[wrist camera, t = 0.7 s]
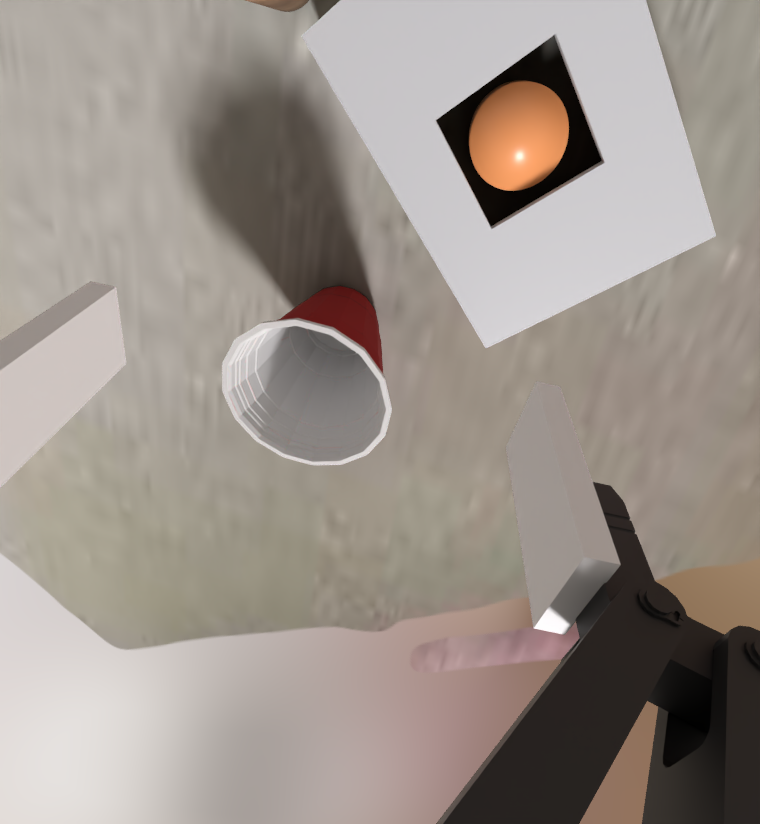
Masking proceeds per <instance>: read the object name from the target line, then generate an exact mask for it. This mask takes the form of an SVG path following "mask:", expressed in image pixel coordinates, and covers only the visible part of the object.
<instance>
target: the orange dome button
mask: <svg viewBox="0 0 760 824" xmlns="http://www.w3.org/2000/svg"><path fill="white" fill-rule="evenodd" d="M568 135H569V121H568V116H567V112H566V109H565V107H564V105H563V103H562V101H561V100H560V98H559V97H558V96H557V95H556V94H555V93H554V92H553V91H552V90H551V89H549V88H548V87H546V86H544V85H542V84H539V83H536V82H532V81H526V80H516V81H510V82H507V83H504V84H502V85H500V86H498V87H496V88H495V89H493V90H492V91H491V92H490V93H488V94H487V95H486V96H485V97H484V98H483V100H482V101H481V102H480V104H479V105H478V107H477V108H476V110H475V112H474V115H473V117H472V120H471V123H470V127H469V136H468V139H469V149H470V154H471V158H472V162H473V164H474V166H475V168H476V170H477V172H478V173H479V175H480V176H481V177H482V178H483V179H484V180H485V181H486V182H487V183H489V184H490V185H492V186H494V187H496V188H499V189H502V190H508V191H516V190H522V189H526V188H529V187H532V186H534V185H536V184H538V183H539V182H541V181H542V180H543V179H545V178H546V177H547V176H548V175H549V174H550V173H551V172H552V171H553V170H554V169H555V167H556V166H557V165H558V163H559V161H560V160H561V158H562V156H563V154H564V151H565V148H566V145H567V141H568Z"/></svg>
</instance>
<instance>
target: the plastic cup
mask: <svg viewBox="0 0 760 824" xmlns="http://www.w3.org/2000/svg"><path fill="white" fill-rule="evenodd" d="M222 392H223V394H224V396H225V398H226V400H227V403H228V405H229V407H230V409H231V412H232V414H233V416H234V418H235V419H236V420H237V421H238V422H239V423H240V425H241V426H242V427H243V428H244V429H245V430H246V431H247V432H248V433H249V434H250V435H251V436H252V437H253V438H254V440H255V441H257V442H259V443H260V444H262V445H264V446H265V447H267V448H269V449H270V450H272V451H274V452H275V453H277V454H279V455H280V456H282V457H284V458H288V459H292V460H295V461H299V462H302V463H306V464H310V465H342V464H345V463H347V462H350V461H353V460H355V459H358V458H360V457H363V456H365V455H368V453H369V452H370V451H371V450H372V449H373V448H374V447H375V446H376V445H377V444H378V443H379V442H380V441H381V440H382V439H383V438H384V437H385V435H386V431H387V427H388V423H389V419H390V415H391V412H392V406H391V402H390V397H389V393H388V388H387V384H386V380H385V376H384V374H383V366H382V349H381V339H380V334H379V325H378V320H377V316H376V311H375V310H374V308H373V306H372V305H371V303H370V302H369V301H368V299H367V298H366V297H365V296H364V295H362V294H361V293H359V292H358V291H356V290H355V289H351V288H347V287H343V286H336V287H330V288H325V289H322V290H321V291H319V292H318V293H316V294H315V295H313V296H311V297H310V298H309V299H307V300H306V301H304V302H303V303H301V304H300V305H298V306H297V307H295V308H294V309H293V310H291V311H290V312H289V313H287V314H286V315H285V316H283V317H282V318H281V319H279V320H276V321H267V322H263V323H260V324H259V325H257V326H255V327H254V328H252V329H251V330H249V331H247V332H246V333H244V334H243V335H241V336H239V337H238V338H236V339H235V340H234V342H233V344H232V346H231V347H230V349H229V351H228V353H227V355H226V357H225V359H224V361H223V362H222Z"/></svg>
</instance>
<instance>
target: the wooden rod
mask: <svg viewBox="0 0 760 824" xmlns="http://www.w3.org/2000/svg"><path fill="white" fill-rule="evenodd" d="M246 1H250V2H253V3H256V4H260V5H263V6H266V7H270V8H273V9H276V10H280V11H285V12H290V11H295V10H297V9H299V8H301V7H303V6H304V5H305V4H306V3H307V2H308V1H309V0H246Z"/></svg>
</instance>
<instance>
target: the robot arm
mask: <svg viewBox="0 0 760 824" xmlns="http://www.w3.org/2000/svg"><path fill="white" fill-rule="evenodd" d="M125 364H126V357H125V349H124V342H123V335H122V327H121V320H120V313H119V305H118V298H117V291H116V287H114V286H109V285H105V284H100V283H96V282H89V283H88V284H86V285H85V286H83V287H81V288H80V289H78V290H77V291H75V292H74V293H72V294H71V295H69V296H68V297H66V298H65V299H63V300H62V301H60V302H59V303H57V304H55V305H54V306H52V307H51V308H49V309H48V310H46V311H45V312H43V313H42V314H40V315H39V316H37V317H36V318H34V319H33V320H31V321H30V322H28V323H26V324H25V325H23V326H22V327H20V328H19V329H17V330H16V331H14V332H13V333H11V334H10V335H8V336H7V337H5V338H4V339H2V340H0V488H1V487H2V486H3V485H4V484H5V483H6V482H7V481H8V480H9V479H10V478H11V477H12V476H13V475H14V474H15V473H16V472H17V471H18V470H19V469H20V468H21V467H22V466H23V465H24V464H25V463H26V462H27V461H28V460H29V459H30V458H31V457H32V456H33V455H34V454H35V453H36V452H37V451H38V450H39V449H40V448H41V447H42V446H43V445H44V444H45V443H46V442H47V441H48V440H49V439H50V438H51V437H52V436H53V435H54V434H55V433H56V432H58V431H59V430H60V429H61V428H62V427H63V426H64V425H65V424H66V423H67V422H68V421H69V420H70V419H71V418H72V417H73V416H74V415H75V414H76V413H77V412H78V411H79V410H80V409H81V408H82V407H83V406H84V405H85V404H86V403H87V402H88V401H89V400H90V399H91V398H92V397H93V396H94V395H95V394H96V393H97V392H98V391H99V390H100V389H101V388H102V387H103V386H104V385H105V384H106V383H107V382H108V381H109V380H110V379H111V378H112V377H113V376H114V375H115V374H116V373H117V372H118V371H119V370H120V369H121V368H122V367H123V366H124V365H125ZM506 450H507V457H508V463H509V470H510V476H511V483H512V489H513V496H514V503H515V509H516V516H517V522H518V529H519V536H520V542H521V549H522V555H523V562H524V568H525V575H526V582H527V588H528V595H529V600H530V608H531V614H532V621H533V628H535V629H540V630H545V631H549V632H554V633H559V634H564V635H565V634H566V633H567V632H568V630H569V629H570V628H571V627H572V625H573V624H574V623H575V622H576V623H577V628H578V632H579V636H580V638H579V640H578V641H577V642H576V643H575V644H574V645H573V647H572V648H571V649H570V650H569V651H568V653H567V654H566V655H565V656H564V657H563V659H562V660H561V663H560V664H559V665H558V667H557V668H556V669H555V670H554V672H553V673H552V674H551V675H550V677H549V678H548V679H547V681H546V682H545V683H544V685H543V686H542V687H541V688H540V690H539V691H538V692H537V694H536V695H535V696H534V698H533V699H532V700H531V701H530V703H529V704H528V705H527V707H526V708H525V709H524V711H523V712H522V713H521V714H520V716H519V717H518V718H517V720H516V721H515V722H514V723H513V725H512V726H511V727H510V729H509V730H508V731H507V733H506V734H505V735H504V737H503V738H502V739H501V740H500V742H499V743H498V744H497V746H496V747H495V748H494V749H493V751H492V752H491V753H490V755H489V756H488V757H487V758H486V760H485V761H484V762H483V764H482V765H481V766H480V768H479V769H478V770H477V771H476V773H475V774H474V776H473V777H472V778H471V779H470V781H469V782H468V783H467V785H466V786H465V787H464V788H463V790H462V791H461V792H460V794H459V795H458V796H457V798H456V799H455V800H454V801H453V803H452V804H451V805H450V807H449V808H448V809H447V810H446V812H445V813H444V815H443V816H442V817H441V818H440V820H439V821H438V822H437V823H436V824H579V823H580V821H581V819H582V817H583V815H584V814H585V812H586V810H587V808H588V806H589V805H590V803H591V801H592V799H593V797H594V796H595V794H596V792H597V790H598V789H599V787H600V785H601V783H602V781H603V779H604V778H605V776H606V774H607V772H608V770H609V769H610V767H611V765H612V763H613V761H614V760H615V758H616V756H617V754H618V752H619V751H620V749H621V747H622V745H623V743H624V741H625V740H626V738H627V736H628V734H629V732H630V730H631V729H632V727H633V725H634V723H635V721H636V720H637V718H638V716H639V714H640V712H641V711H642V709H643V707H644V705H645V704H646V702H647V701H649V702H651V703H653V704H654V705H656V706H658V714H657V720H656V728H655V735H654V742H653V750H652V756H651V763H650V770H649V777H648V784H647V792H646V799H645V806H644V813H643V820H642V824H760V631H758V630H756V629H754V628H751V627H746V626H738V627H735V628H733V629H731V630H730V631H729V632H728V633H726V634H725V635H724V634H722V633H720V632H718V631H716V630H713V629H711V628H709V627H707V626H705V625H703V624H701V623H699V622H697V621H695V620H693V619H691V618H690V617H688V616H687V615H686V612H685V609H684V607H683V606H682V604H681V603H680V602H679V600H678V599H677V597H676V596H674V595H673V594H672V593H671V592H670V591H669V590H668V589H667V588H665V587H664V586H662V585H660V584H659V583H657V582H655V580H654V578H653V575H652V573H651V570H650V567H649V565H648V562H647V560H646V557H645V555H644V552H643V550H642V547H641V545H640V542H639V540H638V537H637V534H635V529H634V527H633V524H632V522H631V521H630V520H629V519H630V517H629V514H628V512H627V509H626V506H625V504H624V502H623V500H622V499H621V498H620V497H619V495H618V494H617V493H616V492H615V491H614V489H613V488H612V487H611V486H609V485H604V484H600V483H595V482H593V481H592V478H591V476H590V473H589V470H588V467H587V464H586V461H585V458H584V455H583V452H582V449H581V446H580V443H579V440H578V437H577V434H576V431H575V428H574V426H573V423H572V420H571V417H570V414H569V411H568V408H567V405H566V402H565V399H564V396H563V393H562V390H561V387H560V386H556V385H552V384H547V383H543V382H538V381H536V383H535V385H534V387H533V389H532V391H531V394H530V396H529V398H528V400H527V402H526V405H525V407H524V409H523V411H522V413H521V415H520V418H519V420H518V422H517V424H516V426H515V428H514V431H513V433H512V435H511V437H510V439H509V442H508V444H507V446H506Z"/></svg>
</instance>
